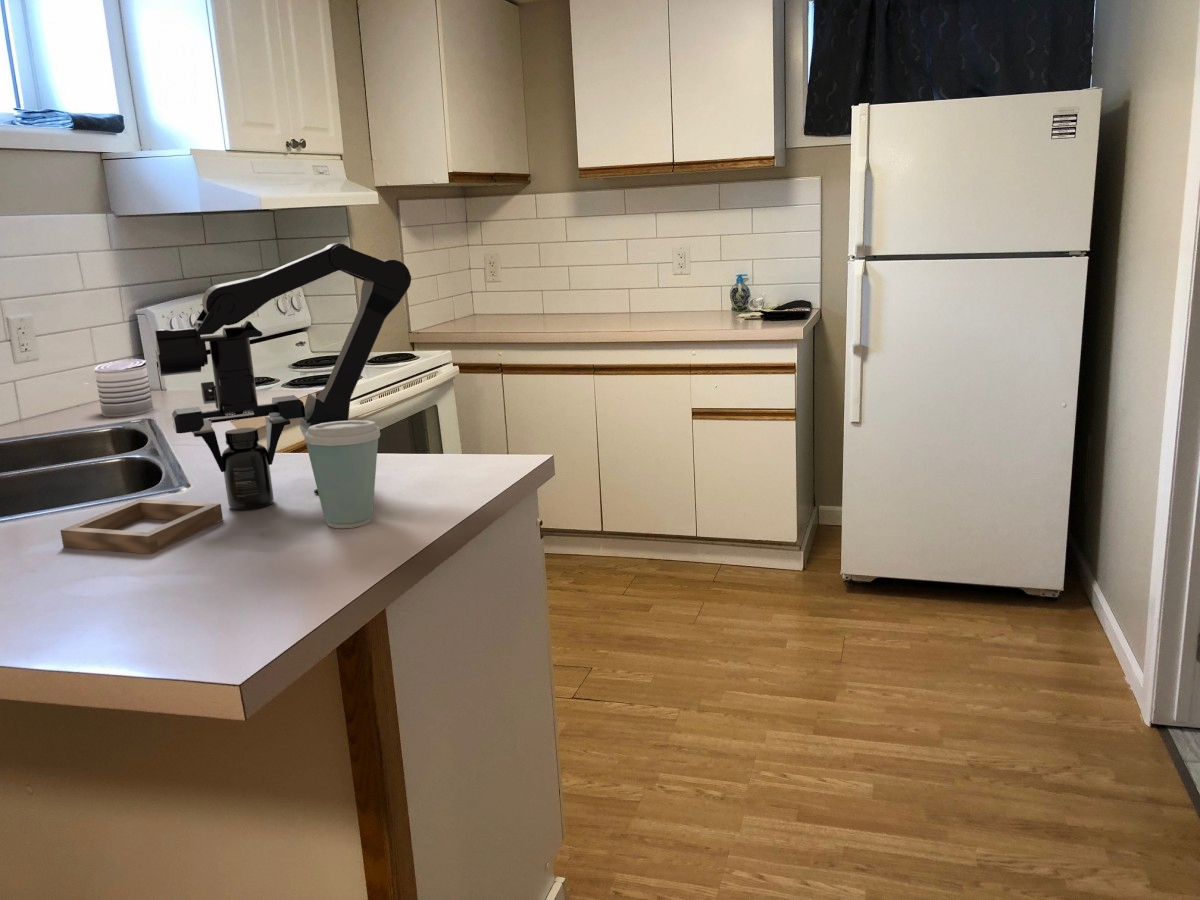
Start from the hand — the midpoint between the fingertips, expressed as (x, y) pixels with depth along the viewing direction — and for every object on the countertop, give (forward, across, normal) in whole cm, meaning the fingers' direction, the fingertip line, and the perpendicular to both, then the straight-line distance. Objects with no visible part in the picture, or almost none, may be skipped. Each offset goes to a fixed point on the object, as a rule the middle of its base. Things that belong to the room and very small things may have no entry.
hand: (246, 467), depth 152 cm
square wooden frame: (+6, +16, +6) cm, 18 cm away
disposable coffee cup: (+6, -11, +18) cm, 22 cm away
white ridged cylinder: (+6, +13, -102) cm, 104 cm away
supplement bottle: (+6, 0, 0) cm, 6 cm away
